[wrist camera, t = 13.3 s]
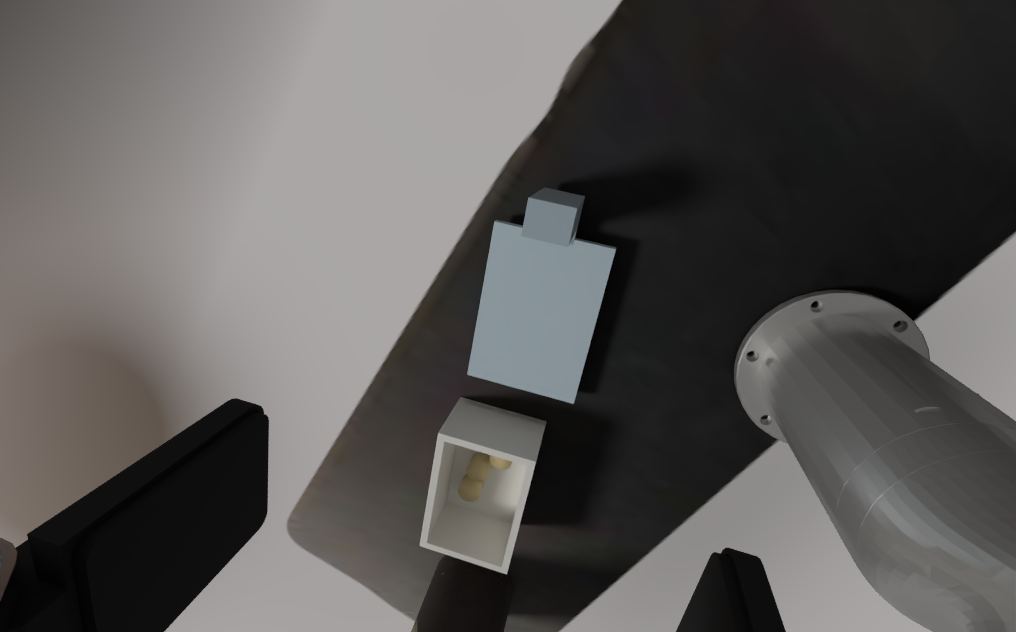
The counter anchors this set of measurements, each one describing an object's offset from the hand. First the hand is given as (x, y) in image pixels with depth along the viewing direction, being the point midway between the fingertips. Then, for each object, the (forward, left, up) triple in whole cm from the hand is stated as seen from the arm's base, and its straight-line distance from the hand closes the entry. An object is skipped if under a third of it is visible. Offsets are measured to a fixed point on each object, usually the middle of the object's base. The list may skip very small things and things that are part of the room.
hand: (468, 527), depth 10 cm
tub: (+3, +22, -30) cm, 38 cm away
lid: (+2, +5, -30) cm, 31 cm away
